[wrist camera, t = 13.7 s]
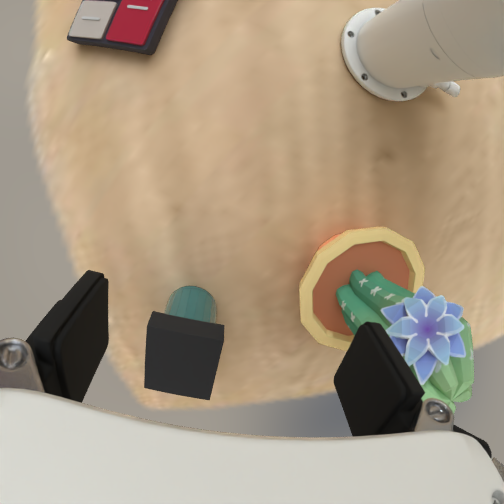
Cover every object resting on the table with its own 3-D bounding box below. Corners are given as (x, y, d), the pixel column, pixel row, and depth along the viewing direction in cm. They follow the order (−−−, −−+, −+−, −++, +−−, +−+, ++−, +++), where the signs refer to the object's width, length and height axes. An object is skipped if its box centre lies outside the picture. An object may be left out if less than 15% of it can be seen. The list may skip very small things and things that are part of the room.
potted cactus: (408, 218, 37) (549, 316, 14) (376, 318, 43) (459, 450, 20) (298, 198, 36) (404, 319, 13) (275, 311, 41) (313, 482, 18)
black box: (224, 324, 31) (223, 340, 29) (210, 384, 34) (209, 400, 32) (152, 310, 30) (146, 325, 27) (148, 372, 33) (144, 388, 31)
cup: (220, 291, 40) (218, 333, 31) (212, 331, 42) (208, 376, 34) (170, 281, 39) (156, 321, 30) (165, 322, 41) (153, 365, 33)
